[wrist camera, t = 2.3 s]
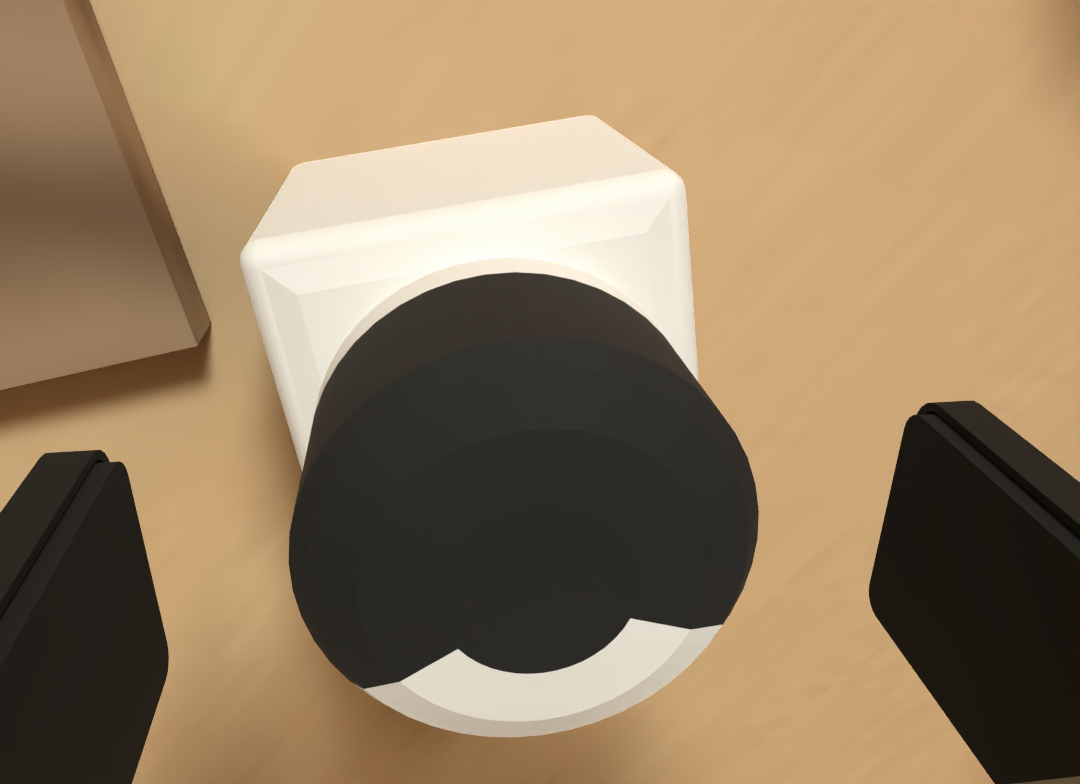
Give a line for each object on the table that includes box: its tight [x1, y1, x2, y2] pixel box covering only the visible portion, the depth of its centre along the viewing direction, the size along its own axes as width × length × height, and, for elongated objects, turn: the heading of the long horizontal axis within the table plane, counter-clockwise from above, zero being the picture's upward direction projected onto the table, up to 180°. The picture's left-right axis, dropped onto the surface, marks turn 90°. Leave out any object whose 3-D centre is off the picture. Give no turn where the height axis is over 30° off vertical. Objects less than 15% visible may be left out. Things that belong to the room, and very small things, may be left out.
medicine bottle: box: [240, 115, 759, 737], centre depth 16 cm, size 7×7×12 cm
